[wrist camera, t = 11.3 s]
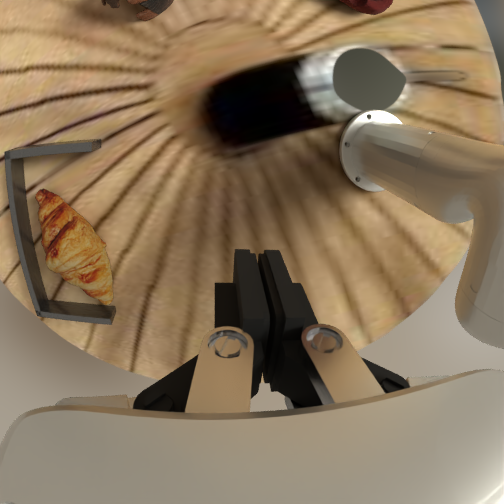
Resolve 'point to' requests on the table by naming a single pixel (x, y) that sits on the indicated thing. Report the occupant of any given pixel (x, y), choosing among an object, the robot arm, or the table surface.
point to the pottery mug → (154, 3)
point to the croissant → (74, 247)
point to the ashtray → (368, 5)
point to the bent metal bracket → (25, 240)
